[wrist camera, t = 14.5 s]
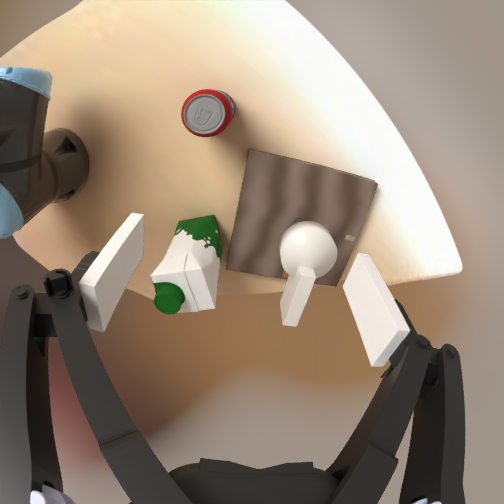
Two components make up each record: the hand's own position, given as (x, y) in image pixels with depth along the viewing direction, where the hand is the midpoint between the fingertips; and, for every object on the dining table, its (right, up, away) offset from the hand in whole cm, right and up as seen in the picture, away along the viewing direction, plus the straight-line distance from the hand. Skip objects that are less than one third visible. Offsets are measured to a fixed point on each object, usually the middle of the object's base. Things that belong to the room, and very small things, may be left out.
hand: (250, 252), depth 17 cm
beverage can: (-6, +24, +26) cm, 36 cm away
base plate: (+9, +6, +38) cm, 39 cm away
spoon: (+8, -2, +33) cm, 34 cm away
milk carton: (-10, +4, +39) cm, 40 cm away
